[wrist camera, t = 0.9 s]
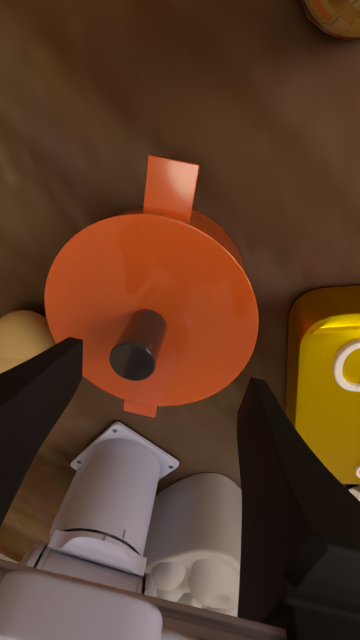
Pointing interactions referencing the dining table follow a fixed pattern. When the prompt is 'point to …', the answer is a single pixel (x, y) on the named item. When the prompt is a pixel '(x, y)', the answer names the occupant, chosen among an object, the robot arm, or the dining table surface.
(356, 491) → the spread jar
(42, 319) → the potato
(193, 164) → the pot
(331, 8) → the sauce bottle
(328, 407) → the yellow square tin
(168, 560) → the lumpy-topped squat cylinder
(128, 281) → the pot lid
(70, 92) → the dining table surface
